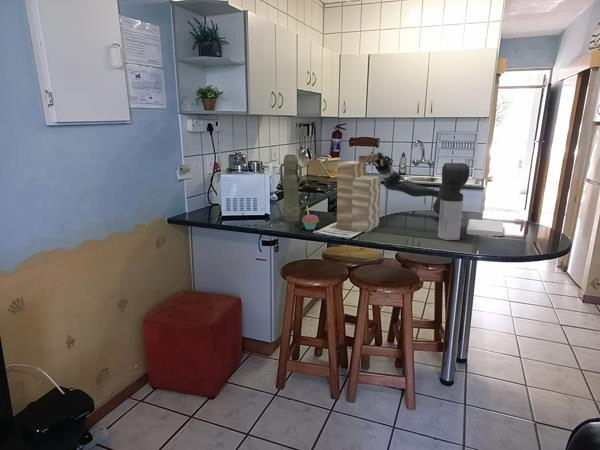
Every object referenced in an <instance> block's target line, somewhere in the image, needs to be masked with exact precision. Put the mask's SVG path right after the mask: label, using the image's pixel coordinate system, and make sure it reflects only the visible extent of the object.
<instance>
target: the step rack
mask: <svg viewBox="0 0 600 450" xmlns="http://www.w3.org/2000/svg"><path fill="white" fill-rule="evenodd" d="M366 171H367V162H366V163H359V160H358V161H357V160H350V161H344V162H338V163H337V177H336V178H337V181H336V182H337V183H336V184H337V185H336V186H337V187H336V189H337V191H336V192H337V194H336V197H337V198H336V202H337V203H336V229H337V228H340V229H339V230H345V229H348V230H347V231H353V230H357V231H356V232H360V231H364V232H363V233H368V232H371V231H372V230H374V229H375V227H376V228H377V227H379V226H380V210H381V209H380V208H381V183H382V182H381V179H382V178H381V177H382V176H381V175H380V176H379V175H367V174H366Z"/></svg>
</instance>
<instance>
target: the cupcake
mask: <svg viewBox="0 0 600 450" xmlns="http://www.w3.org/2000/svg"><path fill="white" fill-rule="evenodd" d="M306 212H307V214H305V215H304V216H303V217H301V222H302V223H303V226H304V228H305V230H308V231H311V230H315V229H316V226H317V224H318V223H319V222H320V218H319V217H318V216H317V215H315V214H310V211H309V206H308V205H306Z"/></svg>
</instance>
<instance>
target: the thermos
mask: <svg viewBox="0 0 600 450" xmlns="http://www.w3.org/2000/svg"><path fill="white" fill-rule="evenodd" d="M302 175H303V167H302V165H301V164H300V163H299V159H298V157H297V155H295V154H286V155H284V158H283V163H281V164H280V166H279V177H280V183H281V184H282V189H283V208H282V212H283V221H284V222H286V223H297V222H299V221H300V216H301V215H300V213H301V212H300V209H301V208H300V206H299V204H300V203H299V200H300V199H299V195H300V194H299V190H300V184H302V183H303V180H302V179H303V177H302Z"/></svg>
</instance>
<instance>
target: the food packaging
mask: <svg viewBox="0 0 600 450" xmlns="http://www.w3.org/2000/svg"><path fill="white" fill-rule="evenodd" d="M503 223H504V221H502V220H501V221H500V220H499V221H498V220H486V219H485V220H484V219H472V218H471V219H470V218H469V219H468V225H467V227H466V235H472V236H485V237H503V236H504V224H503Z"/></svg>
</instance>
